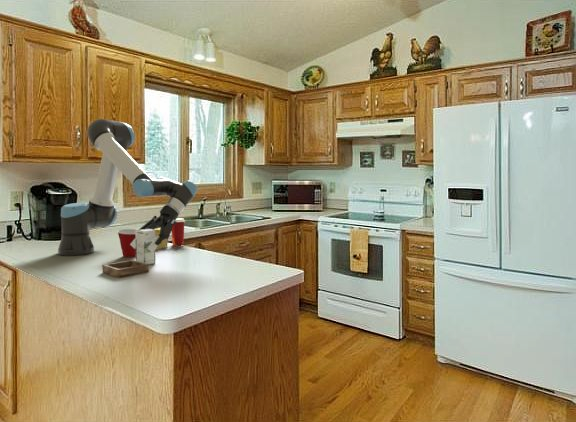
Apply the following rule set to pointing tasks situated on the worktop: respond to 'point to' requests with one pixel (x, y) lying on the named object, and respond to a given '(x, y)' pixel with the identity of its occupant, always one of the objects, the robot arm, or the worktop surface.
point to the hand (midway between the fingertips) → (140, 248)
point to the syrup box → (144, 246)
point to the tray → (125, 268)
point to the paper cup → (178, 232)
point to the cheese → (164, 242)
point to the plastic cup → (127, 242)
